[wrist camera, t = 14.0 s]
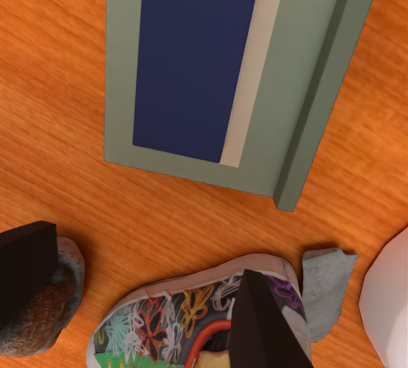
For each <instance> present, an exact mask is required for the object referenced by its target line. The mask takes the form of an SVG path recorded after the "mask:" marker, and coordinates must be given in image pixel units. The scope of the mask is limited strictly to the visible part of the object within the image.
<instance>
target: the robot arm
mask: <svg viewBox="0 0 408 368" xmlns="http://www.w3.org/2000/svg"><path fill="white" fill-rule="evenodd" d="M58 267H59V258H58V245H57V232H56V224H53V223H49V222H45V221H37V222H33V223H30V224H27V225H23V226H20V227H17V228H14V229H11V230H8V231H5V232H2V233H0V332H1V331H2V330H3V329H4V328H5V327H6V326H7V325H8V324H9V323H10V322H11V321H12V320H13V319H14V318H15V317H16V316H17V315H18V314H19V313H20V312H21V311H22V310H23V309H24V308H25V307H26V306H27V305H28V304H29V303H30V301H31V300H32V299H33V298H34V297H35V296H36V295H37V294H38V293H39V292H40V291H41V290H42V288H43V287H44V286H45V285H46V283H47V282H48V281H49V279H50V278H51V277H52V275H53V274H54V273H55V271H56V270H57V269H58ZM230 368H314V367H313V365H312V363H311V362H310V360H309V358H308V357H307V355H306V354H305V352H304V350H303V349H302V347H301V345H300V344H299V342H298V340H297V338H296V337H295V335H294V333H293V331H292V330H291V328H290V326H289V324H288V322H287V321H286V319H285V317H284V315H283V313H282V311H281V309H280V308H279V306H278V304H277V302H276V300H275V298H274V296H273V294H272V292H271V290H270V288H269V286H268V284H267V282H266V280H265V278H264V276H263V274H262V272H258V271H254V270H249V269H244V272H243V275H242V279H241V282H240V285H239V288H238V291H237V294H236V298H235V301H234V304H233V307H232V314H231V328H230Z"/></svg>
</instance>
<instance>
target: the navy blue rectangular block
mask: <svg viewBox="0 0 408 368" xmlns="http://www.w3.org/2000/svg"><path fill="white" fill-rule="evenodd" d="M257 1H258V0H141V13H140V29H139V45H138V61H137V77H136V93H135V109H134V124H133V140H132V144H133V145H134V146H138V147H143V148H148V149H153V150H157V151H162V152H167V153H171V154H176V155H181V156H186V157H190V158H195V159H200V160H204V161H209V162H214V163H220V160H221V156H222V152H224V151H225V147H226V143H227V138H228V133H229V129H230V124H231V120H232V115H233V111H234V106H235V102H236V97H237V92H238V88H239V83H240V79H241V74H242V70H243V65H244V61H245V56H246V52H247V47H248V42H249V38H250V33H251V29H252V24H253V20H254V15H255V11H256V6H257Z"/></svg>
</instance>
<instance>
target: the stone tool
mask: <svg viewBox="0 0 408 368" xmlns="http://www.w3.org/2000/svg"><path fill="white" fill-rule="evenodd" d="M358 257H359V255H358V254H353V255H347V254H345V253H343V252H342V250H341V249H340V248H339V247H335V248H328V249H321V250H310V251H306V252H305V253H304V254H303V257H302V267H303V281H302V283H303V287H302V292H301V298H302V304H303V307H304V311H305V315H306V319H307V324H308V326H309V331H310V343H311V342H313V343H315V342H317V341H319V340H321V339H322V338H323V337H324V336H325V335H327V334H328V333H330V331H331V328H332V327H333V325H334V324H335V323H336V322H337V320H338V318H339V316H340V315H341V305H342V302H343V296H344V294H345V293H346V289H347V285H348V280H349V278H350V277H351V274H352V270H353V265H354V264H355V263H356V260H357V259H358Z"/></svg>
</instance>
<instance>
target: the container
mask: <svg viewBox="0 0 408 368" xmlns="http://www.w3.org/2000/svg"><path fill="white" fill-rule="evenodd" d="M359 309H360V313H361V317H362V321H363V325H364V330H365V332H366V334H367V336H368V337H369V339H370V341H371V343H372V345H373V347H374V349H375V350H376V352H377V354H378V356H379V358H380V360H381V361H382V363H383V365H384V367H385V368H408V227H407V228H406V229H405V230H403V231H402V232H401V233H400V234H399V235H397V236H396V237H395V238H394V239H392V240H391V241H390V242H389V243H388V244H386V245H385V247H384V248H383V250H382V251H381V253H380V254H379V256H378V257H377V259H376V260H375V262H374V263H373V265H372V266H371V267H370V269H369V270H368V272H367V273H366V275H365V278H364V282H363V287H362V291H361V296H360V300H359Z"/></svg>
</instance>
